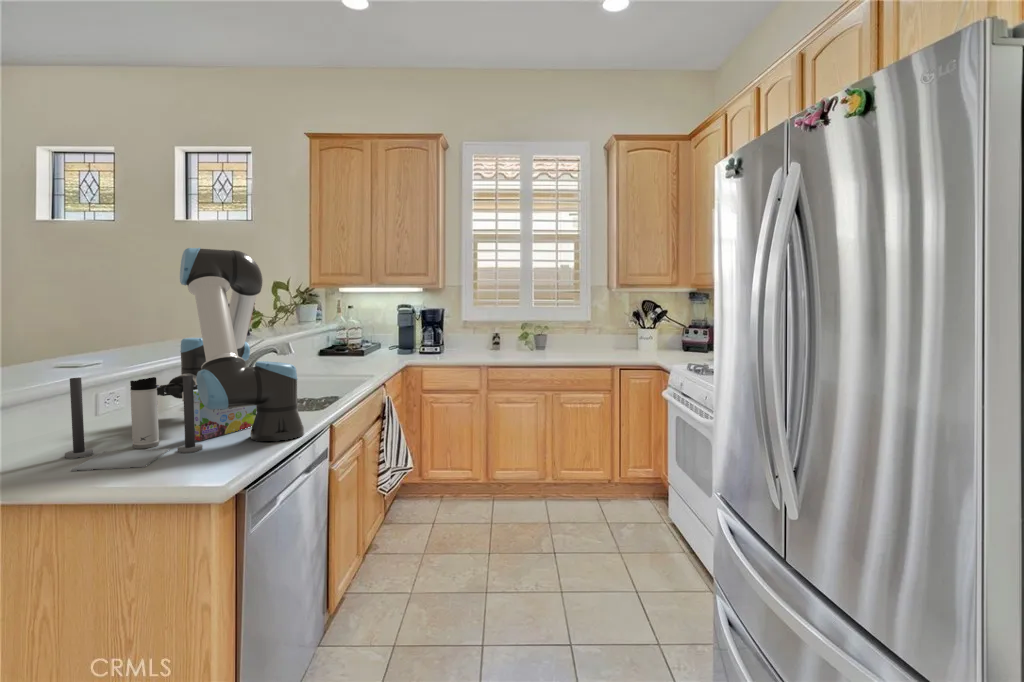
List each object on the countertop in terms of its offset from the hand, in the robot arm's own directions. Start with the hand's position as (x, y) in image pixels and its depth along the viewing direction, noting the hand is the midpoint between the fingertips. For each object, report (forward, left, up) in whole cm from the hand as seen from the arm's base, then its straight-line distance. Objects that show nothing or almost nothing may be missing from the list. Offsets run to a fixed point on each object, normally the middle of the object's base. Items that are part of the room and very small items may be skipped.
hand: (158, 397), depth 163 cm
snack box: (-14, -10, -13) cm, 22 cm away
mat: (-10, +22, -12) cm, 27 cm away
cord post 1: (+5, +21, -12) cm, 25 cm away
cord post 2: (-20, +10, -12) cm, 25 cm away
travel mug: (-4, +9, -13) cm, 16 cm away
